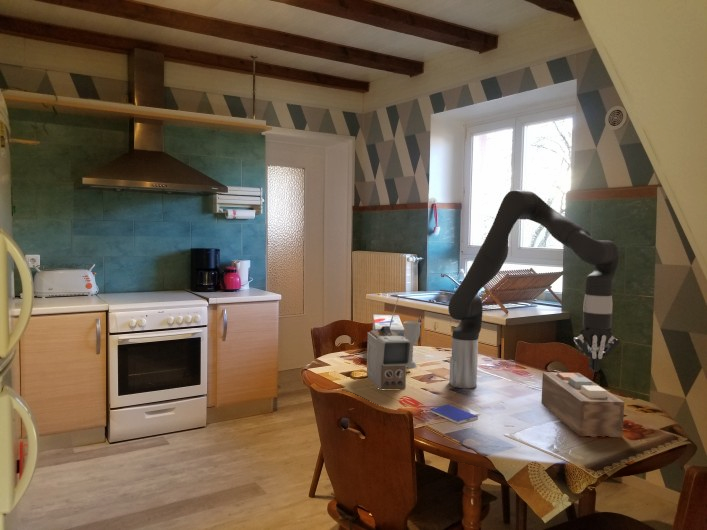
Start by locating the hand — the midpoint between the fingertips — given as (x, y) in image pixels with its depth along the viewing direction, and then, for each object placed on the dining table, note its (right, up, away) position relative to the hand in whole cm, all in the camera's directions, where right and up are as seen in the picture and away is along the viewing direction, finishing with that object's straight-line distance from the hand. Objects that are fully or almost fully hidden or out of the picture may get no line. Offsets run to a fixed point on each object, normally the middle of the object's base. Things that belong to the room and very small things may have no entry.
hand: (594, 370), depth 160 cm
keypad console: (-1, -16, +10) cm, 19 cm away
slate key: (0, -9, +10) cm, 13 cm away
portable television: (-56, -13, +43) cm, 72 cm away
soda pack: (-54, -9, +96) cm, 110 cm away
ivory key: (0, -10, +1) cm, 10 cm away
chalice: (-45, -11, +67) cm, 82 cm away
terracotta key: (-1, -10, +19) cm, 21 cm away
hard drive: (-38, -16, +11) cm, 43 cm away
